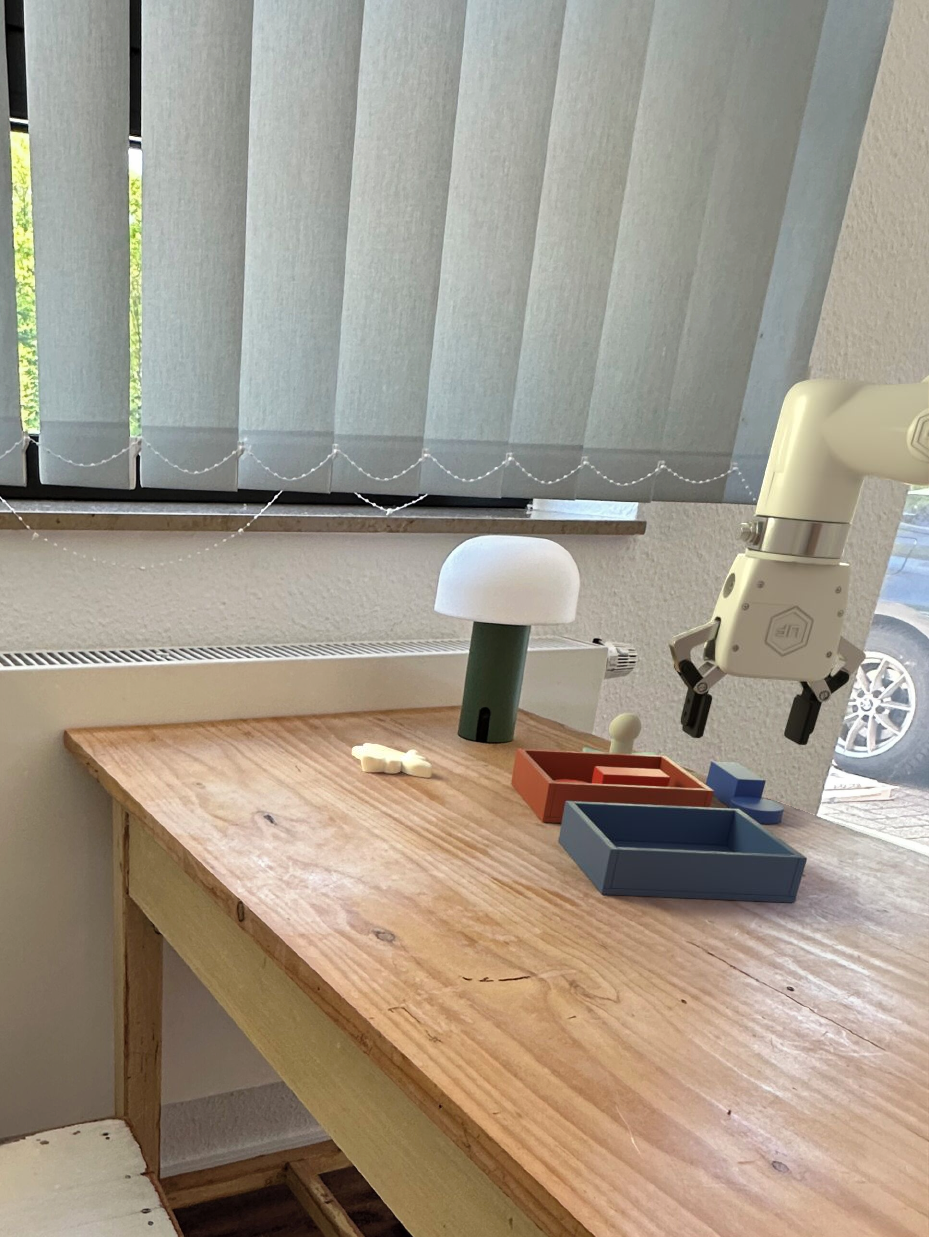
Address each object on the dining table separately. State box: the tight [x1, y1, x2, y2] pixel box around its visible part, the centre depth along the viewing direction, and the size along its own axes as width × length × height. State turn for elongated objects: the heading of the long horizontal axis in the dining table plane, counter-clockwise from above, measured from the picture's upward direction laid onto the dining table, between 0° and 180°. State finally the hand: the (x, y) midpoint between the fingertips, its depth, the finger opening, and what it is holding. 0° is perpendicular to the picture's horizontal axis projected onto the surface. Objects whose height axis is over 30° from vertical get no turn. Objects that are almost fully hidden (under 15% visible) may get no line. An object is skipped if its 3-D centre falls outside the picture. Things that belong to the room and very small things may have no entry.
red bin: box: [510, 748, 714, 824], centre depth 96 cm, size 14×11×4 cm
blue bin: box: [557, 801, 808, 904], centre depth 82 cm, size 14×11×4 cm
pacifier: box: [582, 712, 660, 756], centre depth 107 cm, size 7×6×6 cm
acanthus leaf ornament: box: [351, 742, 434, 779], centre depth 105 cm, size 8×7×2 cm
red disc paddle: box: [553, 766, 670, 787], centre depth 96 cm, size 10×4×3 cm, turn 90°
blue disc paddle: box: [705, 760, 785, 825], centre depth 99 cm, size 10×4×3 cm, turn 0°
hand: (743, 737), depth 98 cm, fingers open, 9 cm apart
